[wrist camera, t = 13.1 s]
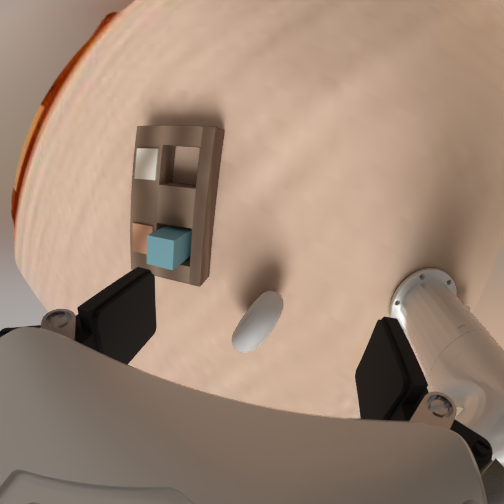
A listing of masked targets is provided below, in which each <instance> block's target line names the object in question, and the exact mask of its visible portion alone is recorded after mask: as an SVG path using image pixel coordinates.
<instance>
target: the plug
mask: <svg viewBox="0 0 504 504" xmlns="http://www.w3.org/2000/svg"><path fill="white" fill-rule="evenodd" d="M191 239H192V229H191V228H185V227H180V226H174V225H167V226H165V227H163V228H161V229H159V230H157V231H155V232H153V233H150V234H148V235H147V264H150V265H154V266H158V267H162V268H165V269H169V270H174V269H175V268H176V267H177V266H179V265H180V264H181V263H182V262H184V261H185V260H186V259H187V258H188V257H190V255H191Z"/></svg>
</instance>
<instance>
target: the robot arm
mask: <svg viewBox="0 0 504 504" xmlns="http://www.w3.org/2000/svg"><path fill="white" fill-rule="evenodd" d="M78 313H79V314H78V315H76V316H75V314H74V313H73V312H72V311H70V310H67V309H56V310H53V311H50V312H49V313H47V314H46V315H45V316H44V317H43V319H42V322H41V325H39V326H27V327H16V328H4V329H2V330H1V331H0V504H504V350H503V349H502V347H501V346H500V345H499V344H498V343H497V342H496V340H495V339H494V338H493V337H492V336H491V334H490V333H489V332H488V331H487V330H486V329H485V327H484V326H483V325H482V324H481V323H480V322H479V320H478V319H477V318H476V317H475V316H474V315H473V314H472V313H471V312H470V307H469V306H465V305H464V304H463V303H462V302H461V301H460V300H459V299H458V298H457V290H456V286H455V283H454V281H453V279H452V278H451V277H450V276H449V275H448V274H447V273H446V272H444V271H442V270H440V269H436V268H426V269H422V270H419V271H417V272H415V273H413V274H411V275H410V276H408V277H407V278H406V279H405V280H404V281H403V282H402V283H401V284H400V285H399V287H398V288H397V290H396V291H395V293H394V295H393V297H392V300H391V303H390V308H389V316H390V317H383V318H382V320H378V321H377V323H376V326H375V328H374V331H373V333H372V336H371V338H370V340H369V343H368V345H367V347H366V350H365V352H364V354H363V357H362V359H361V361H360V363H359V365H358V367H357V370H356V374H355V379H356V386H357V393H358V400H359V408H360V416H361V419H354V418H341V417H330V416H321V415H313V414H306V413H299V412H293V411H287V410H281V409H275V408H270V407H265V406H260V405H255V404H251V403H246V402H242V401H238V400H234V399H230V398H226V397H222V396H218V395H214V394H211V393H207V392H204V391H200V390H197V389H194V388H190V387H187V386H184V385H181V384H178V383H175V382H172V381H169V380H166V379H163V378H160V377H158V376H155V375H152V374H149V373H147V372H144V371H142V370H139V369H137V368H134V367H132V366H129V365H127V364H128V363H129V362H130V361H131V360H132V359H133V358H134V356H135V355H136V354H137V353H138V352H139V351H140V349H141V348H142V347H143V346H144V345H145V344H146V343H147V341H148V340H149V339H150V338H151V337H152V336H153V335H154V333H155V331H156V308H155V277H154V274H152V272H151V270H149V269H145V268H141V267H137V268H135V269H133V270H132V271H130V272H129V273H127V274H126V275H124V276H123V277H121V278H120V279H118V280H117V281H115V282H114V283H112V284H111V285H109V286H108V287H106V288H105V289H103V290H102V291H101V292H99V293H98V294H96V295H95V296H93V297H92V298H90V299H89V300H88V301H86V302H85V303H83V304H82V305H80V306H79V307H78ZM408 339H410V340H411V342H412V344H413V346H414V348H415V351H416V353H417V355H418V357H419V359H420V361H421V363H422V366H423V368H424V370H425V372H426V375H427V377H428V379H429V381H430V384H431V386H432V389H433V391H434V392H430V393H429V392H428V390H427V386H428V384H427V382H426V379H425V377H424V374H423V372H422V370H421V367H420V365H419V363H418V361H417V358H416V356H415V354H414V352H413V350H412V348H411V346H410V343H409V341H408ZM456 407H460V408H463V410H462V411H461V412H460V413H459V414H458V415H457V416H456V411H457V409H456ZM455 416H456V417H455Z"/></svg>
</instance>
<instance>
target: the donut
mask: <svg viewBox="0 0 504 504" xmlns="http://www.w3.org/2000/svg"><path fill="white" fill-rule="evenodd" d="M282 310H283V299H282V297H281V295H280V294H279V293H277V292H275V291H266V292H264V293H262V294H261V295H260V296H259V297H258V298H257V299H256V300H255V302H254V303H253V304H252V305H251V306H250V308H249V309H248V310H247V312H246V313H245V315H244V316H243V318H242V319H241V321H240V322H239V324H238V325H237V327H236V329H235V331H234V333H233V335H232V345H233V347H234V348H235V349H236V350H237V351H239V352H243V353H248V352H251V351H253V350H254V349H256V348H257V347H258V346H259V345H260V344H261V343H262V342H263V341H264V340H265V339H266V338H267V336H268V335H269V334H270V332H271V331H272V330H273V328H274V326H275V325H276V323H277V321H278V319H279V317H280V315H281V313H282Z"/></svg>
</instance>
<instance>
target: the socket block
mask: <svg viewBox="0 0 504 504" xmlns="http://www.w3.org/2000/svg"><path fill="white" fill-rule="evenodd" d="M223 139H224V130H221V129H219V128H217V127H204V126H137V134H136V142H135V152H134V162H133V175H132V192H131V224H130V244H131V269H132V270H133V269H135V268H137V267H141V268H145V269H149V270H151V272H152V274H154V276H158V277H162V278H166V279H170V280H174V281H178V282H183V283H187V284H191V285H195V286H199V287H200V286H201V285H202V284H203V282H204V281H205V280H206V279H207V278H208V277H209V269H210V257H211V246H212V235H213V225H214V215H215V205H216V196H217V187H218V178H219V170H220V162H221V154H222V146H223ZM176 146H183V147H199V148H200V154H199V162H198V171H197V181H196V185H189V184H180V183H172V177H173V166H174V157H175V148H176ZM167 225H174V226H180V227H185V228H191V229H192V239H191V255H190V257H188V258H187V259H186V260H185V261H184V262H182V263H181V264H180V265H179V266H177V267H176V268H175V269H174V270H169V269H165V268H162V267H158V266H154V265H150V264H147V235H148V234H150V233H153V232H155V231H157V230H159V229H161V228H163V227H165V226H167Z"/></svg>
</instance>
